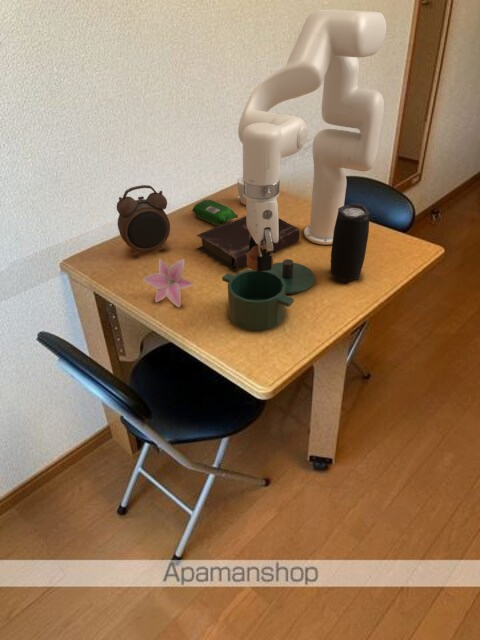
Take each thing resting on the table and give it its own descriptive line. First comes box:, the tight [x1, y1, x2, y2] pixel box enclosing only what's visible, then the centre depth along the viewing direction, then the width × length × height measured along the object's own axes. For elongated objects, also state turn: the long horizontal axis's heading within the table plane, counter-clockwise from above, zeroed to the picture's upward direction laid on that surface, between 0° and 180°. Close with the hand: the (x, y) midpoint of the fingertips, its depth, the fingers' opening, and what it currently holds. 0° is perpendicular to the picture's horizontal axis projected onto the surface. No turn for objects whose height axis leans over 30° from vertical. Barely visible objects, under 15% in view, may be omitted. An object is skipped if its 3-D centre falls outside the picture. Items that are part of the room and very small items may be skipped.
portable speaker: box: [329, 202, 371, 284], centre depth 129 cm, size 9×9×20 cm
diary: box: [196, 215, 301, 272], centre depth 147 cm, size 19×25×5 cm
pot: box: [221, 269, 295, 332], centre depth 120 cm, size 14×19×8 cm
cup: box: [237, 176, 247, 206], centre depth 168 cm, size 11×8×8 cm
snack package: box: [191, 198, 239, 227], centre depth 160 cm, size 7×16×5 cm, turn 46°
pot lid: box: [268, 258, 316, 295], centre depth 132 cm, size 15×15×6 cm
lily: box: [142, 258, 194, 308], centre depth 127 cm, size 12×12×10 cm
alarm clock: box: [116, 184, 171, 258], centre depth 141 cm, size 15×7×20 cm, turn 114°
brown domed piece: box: [246, 245, 274, 271], centre depth 112 cm, size 6×6×5 cm
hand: (260, 261), depth 113 cm, fingers closed on brown domed piece, 6 cm apart
